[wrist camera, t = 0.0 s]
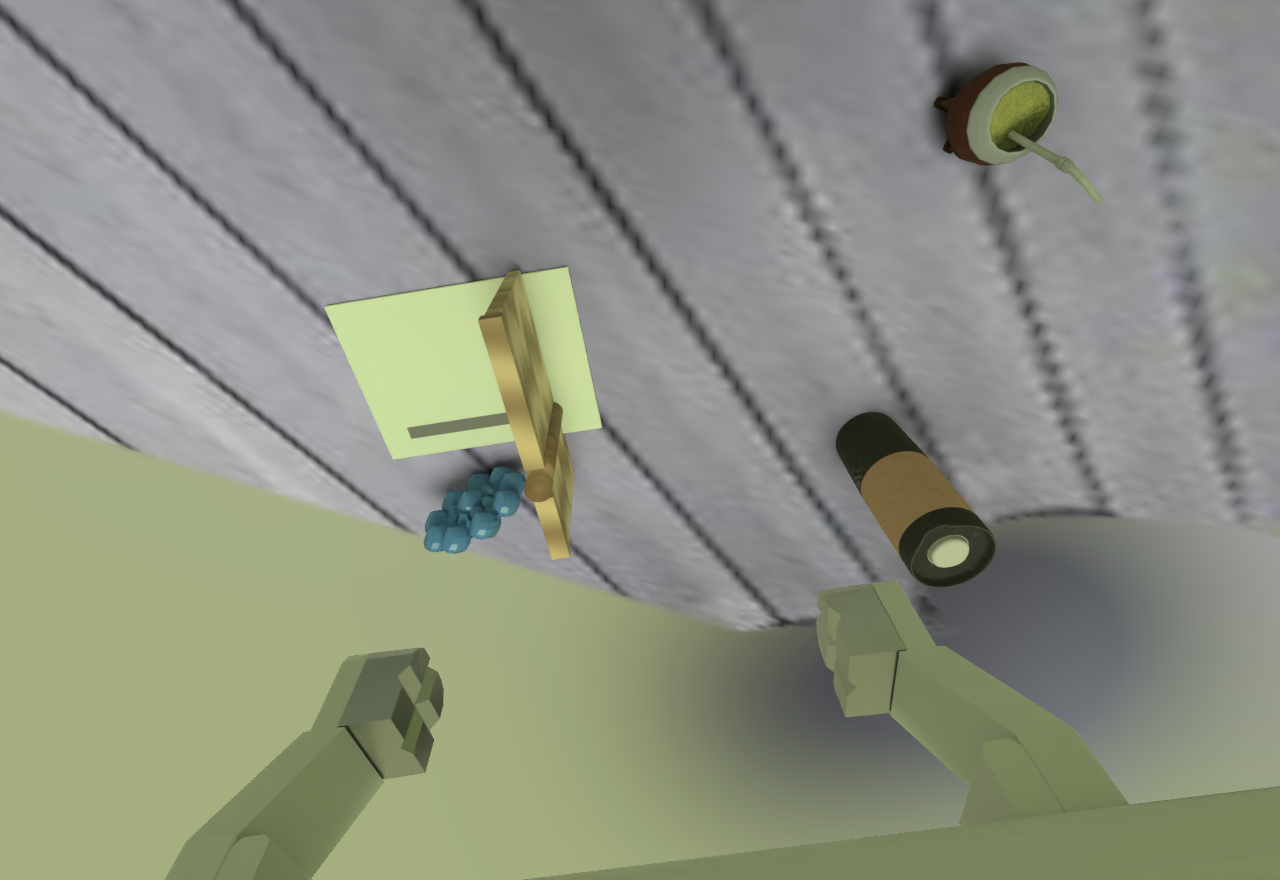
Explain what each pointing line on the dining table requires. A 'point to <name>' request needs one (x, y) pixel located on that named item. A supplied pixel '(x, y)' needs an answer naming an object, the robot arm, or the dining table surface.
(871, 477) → the travel mug
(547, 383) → the gate panel
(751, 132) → the dining table surface
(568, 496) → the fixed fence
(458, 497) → the grapes
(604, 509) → the dining table surface
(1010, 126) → the mate gourd
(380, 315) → the board
